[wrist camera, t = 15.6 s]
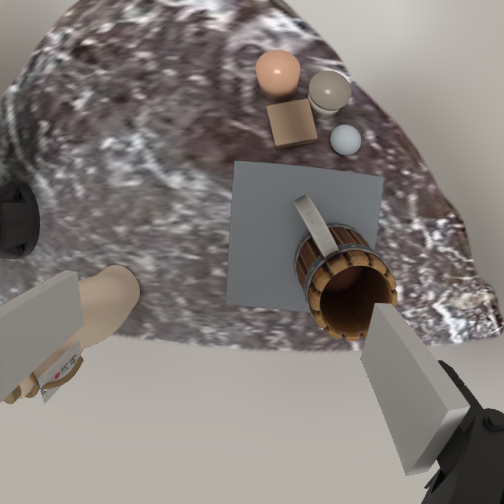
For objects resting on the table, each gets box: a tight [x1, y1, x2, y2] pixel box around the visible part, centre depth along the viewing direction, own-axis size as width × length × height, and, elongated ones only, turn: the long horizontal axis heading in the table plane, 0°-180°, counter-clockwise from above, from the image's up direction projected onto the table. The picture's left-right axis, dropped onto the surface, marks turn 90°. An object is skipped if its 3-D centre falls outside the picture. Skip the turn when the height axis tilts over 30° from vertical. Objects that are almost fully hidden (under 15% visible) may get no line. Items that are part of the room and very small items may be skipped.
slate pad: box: [226, 161, 384, 312], centre depth 40 cm, size 20×20×1 cm
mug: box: [293, 194, 397, 341], centre depth 32 cm, size 16×11×15 cm
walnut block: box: [267, 99, 318, 150], centre depth 35 cm, size 5×5×5 cm
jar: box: [307, 71, 351, 119], centre depth 33 cm, size 5×5×7 cm
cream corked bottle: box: [3, 265, 140, 404], centre depth 31 cm, size 10×9×28 cm
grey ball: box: [330, 125, 361, 155], centre depth 35 cm, size 4×4×4 cm
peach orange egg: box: [256, 50, 300, 103], centre depth 32 cm, size 5×5×7 cm
